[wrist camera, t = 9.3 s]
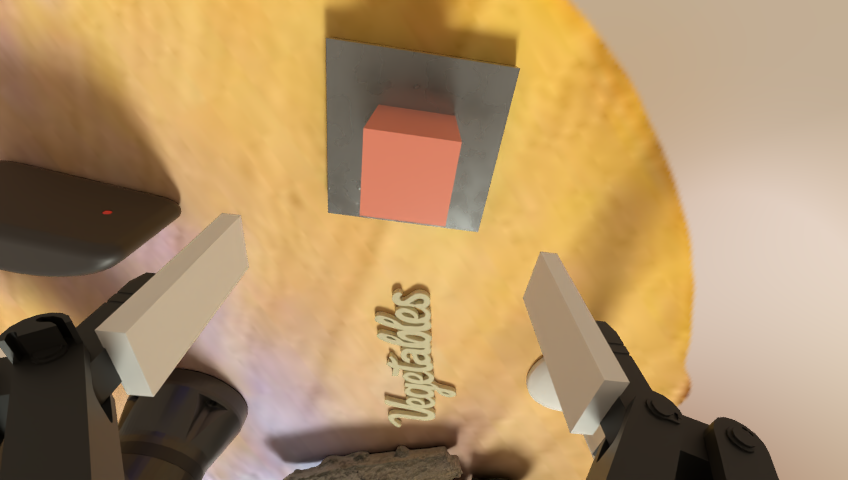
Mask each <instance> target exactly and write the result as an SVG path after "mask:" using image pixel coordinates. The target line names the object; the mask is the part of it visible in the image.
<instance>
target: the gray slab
mask: <svg viewBox="0 0 848 480" xmlns="http://www.w3.org/2000/svg"><path fill="white" fill-rule="evenodd" d="M519 70H520V68H518V67H516V66H512V65H505V64H499V63H493V62H486V61H480V60H474V59H467V58H461V57H454V56H448V55H442V54H435V53H429V52H423V51H416V50H410V49H403V48H397V47H391V46H384V45H378V44H372V43H365V42H359V41H352V40H346V39H340V38H333V37H329V38H326V73H327V158H328V213H334V214H342V215H350V216H358V217H365V218H373V219H381V220H389V221H396V222H404V223H412V224H420V225H427V226H435V227H443V228H451V229H458V230H466V231H474V232H478V230H479V226H480V222H481V218H482V214H483V210H484V207H485V203H486V199H487V195H488V191H489V187H490V183H491V179H492V175H493V172H494V168H495V164H496V160H497V156H498V152H499V148H500V144H501V140H502V136H503V133H504V129H505V125H506V121H507V117H508V113H509V109H510V105H511V101H512V97H513V94H514V90H515V86H516V82H517V78H518V74H519ZM378 105H386V106H392V107H399V108H406V109H413V110H420V111H426V112H433V113H440V114H447V115H454V116H456V120H457V124H458V129H459V133H460V137H461V141H462V144H461V149H460V154H459V159H458V164H457V169H456V175H455V180H454V185H453V190H452V195H451V200H450V205H449V210H448V215H447V221H446V226H437V225H429V224H421V223H414V222H406V221H398V220H390V219H383V218H375V217H367V216H360V196H361V173H362V149H363V128H364V126H365V125H366V123H367V122H368V120H369V119H370V117H371V116H372V114H373V112H374V111H375V109H376V108H377V106H378Z"/></svg>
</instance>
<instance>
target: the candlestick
mask: <svg viewBox="0 0 848 480" xmlns="http://www.w3.org/2000/svg"><path fill="white" fill-rule="evenodd" d="M526 383H527V388H528V391H529V394H530V395H531V397H532V398H533V399H534V400H535V401H536V402H538V403H539V404H541V405H543V406H545V407H547V408H550V409H553V410H557V411H562V408H561V405H560V402H559V400H558V397H557V394H556V391H555V388H554V385H553V382H552V380H551V377H550V374H549V371H548V368H547V365H546V362H545V360H544V357H542V358H541V359H540V360H538V361H537V362H536V363H535V364H534V365H533V366H532V368H531V369H530V371H529V373H528V375H527V380H526ZM583 435H584V438H585V440H586V442H587V445H588V447H589V449H590V452H591V454H593V452H594V451H595V450H596V448H597V447H598V446H599V444H600V443H601V442H602V440H603V439H604V438H605V434H604V432H603V430H602V427H601V425H599V427H598V428H597V430H596V431H595V433H594V434H593V435H585V434H583ZM592 457H593V459H595V456H594V455H592Z"/></svg>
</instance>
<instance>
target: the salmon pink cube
mask: <svg viewBox="0 0 848 480" xmlns="http://www.w3.org/2000/svg"><path fill="white" fill-rule="evenodd" d="M461 144H462V141H461V137H460V133H459V129H458V124H457V120H456V116H454V115H447V114H440V113H433V112H426V111H420V110H413V109H406V108H399V107H392V106H386V105H378V106H377V108H376V109H375V111H374V112H373V114H372V116H371V117H370V119H369V120H368V122H367V123H366V125H365V126H364V128H363V149H362V173H361V196H360V216H367V217H375V218H383V219H390V220H398V221H406V222H414V223H421V224H429V225H437V226H446V221H447V215H448V210H449V205H450V200H451V195H452V190H453V185H454V180H455V175H456V169H457V164H458V159H459V154H460V149H461Z"/></svg>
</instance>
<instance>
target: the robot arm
mask: <svg viewBox="0 0 848 480" xmlns="http://www.w3.org/2000/svg"><path fill="white" fill-rule="evenodd" d="M248 268H249V264H248V258H247V252H246V245H245V239H244V233H243V226H242V220H241V215H235V214H226V213H222V214H221V215H219V216H218V217H217V218H216V219H215V220H214V221H213V222H212V223H211V224H210V225H209V226H207V227H206V228H205V229H204V230H203V231H202V232H201V233H200V234H199V235H198V236H197V237H196V238H194V239H193V240H192V241H191V242H190V243H189V244H188V245H187V246H186V247H185V248H184V249H182V250H181V251H180V252H179V253H178V254H177V255H176V256H175V257H174V258H173V259H172V260H170V261H169V262H168V263H167V264H166V265H165V266H164V267H163V268H162V269H161V270H160V271H158V272H157V273H145V274H143V275H141V276H139V277H137V278H135V279H133V280H131V281H129V282H128V283H127V284H126V285H125V286H124V287H123V288H121V289H120V290H119V291H118V293H117V294H114V295H113V296H112V297H111V298H110V299H109V300H108V302H107V303H104V304H103V305H102V306H100V307H99V308H98V309H97V310H96V311H95V312H94V313H92V314H91V315H90V316H89V317H88V318H87V319H85V320H84V321H83V322H82V323H81V324H80V325H78V326H77V327H76V328H75V326H74V324H73V323H72V321H71V319H70V317H69V316H68V315H65V314H63V313H46V314H41V315H36V316H33V317H30V318H27V319H25V320H22V321H20V322H18V323H16V324H15V325H13V326H11V327H9V328H8V329H7V330H6V331H5V332H3V333H2V334H1V335H0V348H1V349H2V350H3V352H4V353H5V355H6V356H7V357H3V358H0V480H202V478H203V476H204V474H205V472H206V471H207V469H208V468H209V467H210V466H211V465H212V464H213V462H214V461H215V460H216V459H217V458H218V457H219V456H220V454H221V453H222V452H223V451H224V450H225V449H226V447H227V446H228V445H229V444H230V443H231V442H232V441H233V439H234V438H235V437H236V436H237V435H238V433H239V432H240V430H241V428H242V426H243V424H244V422H245V420H246V417H247V414H248V409H247V405H246V403H245V401H244V400H243V398H242V397H241V396H240V395H239V393H237V392H236V391H235V390H234V389H233V388H231V387H230V386H229V385H227V384H225V383H224V382H222V381H220V380H218V379H216V378H214V377H211V376H209V375H206V374H203V373H199V372H195V371H190V370H184V369H175V367H176V366H177V364H178V363H179V362H180V360H181V359H182V358H183V356H184V355H185V354H186V352H187V351H188V350H189V348H190V347H191V345H192V344H193V343H194V341H195V340H196V339H197V337H198V336H199V335H200V333H201V332H202V331H203V329H204V328H205V326H206V325H207V324H208V322H209V321H210V320H211V318H212V317H213V316H214V314H215V313H216V311H217V310H218V309H219V307H220V306H221V305H222V303H223V302H224V301H225V299H226V298H227V297H228V295H229V294H230V292H231V291H232V290H233V288H234V287H235V286H236V284H237V283H238V282H239V280H240V279H241V277H242V276H243V275H244V273H245V272H246V271H247V269H248ZM523 300H524V302H525V305H526V308H527V311H528V314H529V317H530V320H531V322H532V325H533V328H534V331H535V334H536V337H537V340H538V342H539V345H540V348H541V351H542V354H543V357H544V360H545V362H546V365H547V368H548V371H549V374H550V377H551V380H552V382H553V385H554V388H555V391H556V394H557V397H558V400H559V402H560V405H561V408H562V411H563V414H564V417H565V420H566V422H567V425H568V428H569V431H570V433H574V434H585V435H593V434H594V433H595V431H596V430H597V428H598V427H599V425H601V427H602V430H603V432H604V434H605V438H604V439H603V440H602V442H601V443H600V444H599V446H598V447H597V448H596V450H595V451H594V452H593V454H592V455H594V456H595V459H594V461H593V464H592V466H591V468H590V471H589V473H588V476H587V478H586V480H779V478H778V476H777V473H776V471H775V468H774V465H773V462H772V460H771V457H770V454H769V452H768V450H767V448H766V446H765V445H764V443H763V442H762V441H761V440H760V439H759V437H758V436H757V435H756V434H755V433H753V432H752V431H751V430H750V429H748V428H747V427H746V426H744V425H742V424H741V423H739V422H737V421H735V420H732V419H729V418H726V417H721V418H717V419H716V420H715V421H714V422H712V423H711V424H710V425H708V424H705V423H702V422H700V421H697V420H694V419H692V418H689V417H686V416H684V415H682V414H681V412H680V410H679V409H678V408H677V407H676V406H675V405H674V403H673V402H671V401H670V400H669V399H667V398H666V397H665V396H663V395H661V394H659V393H657V392H655V391H652V389H651V388H650V386H649V384H648V383H647V381H646V380H645V378H644V376H643V375H642V373H641V371H640V370H639V368H638V367H637V365H636V363H635V362H634V360H633V358H632V357H631V356H629V352H628V350H627V349H626V347H625V346H623V345H624V344H623V342H622V341H621V339H620V337H619V336H618V334H617V332H616V331H614V330H613V329H612V328H611V327H610V326H609V325H608V324H607V323H606V322H603V321H595V320H594V318H593V316H592V315H591V313H590V311H589V309H588V308H587V306H586V304H585V302H584V301H583V299H582V297H581V295H580V294H579V292H578V290H577V288H576V286H575V285H574V283H573V281H572V279H571V278H570V276H569V274H568V272H567V271H566V269H565V267H564V265H563V263H562V262H561V260H560V258H559V256H558V255H557V254H556V253H548V252H540V254H539V257H538V259H537V262H536V265H535V267H534V270H533V273H532V275H531V278H530V281H529V283H528V286H527V289H526V291H525V294H524V297H523ZM120 383H122V385H123V387H124V389H125V391H126V393H127V395H129V397H128V399H127V402H126V404H125V407H124V409H123V412H122V414H121V417H120V420H119V422H117V414H116V406H115V400H114V398H113V396H112V392H113V391H114V390H115V389H116V388H117V387H118V385H119V384H120Z"/></svg>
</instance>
